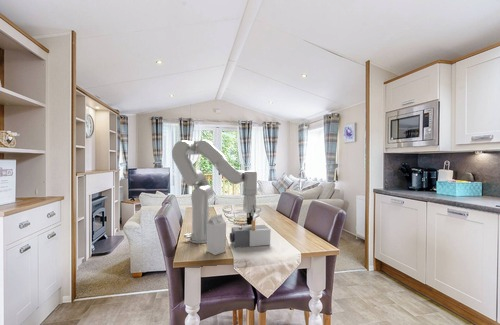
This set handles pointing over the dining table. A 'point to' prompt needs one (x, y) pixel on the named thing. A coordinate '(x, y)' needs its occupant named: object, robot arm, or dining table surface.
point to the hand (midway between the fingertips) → (249, 224)
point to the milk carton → (216, 235)
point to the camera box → (242, 235)
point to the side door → (259, 236)
